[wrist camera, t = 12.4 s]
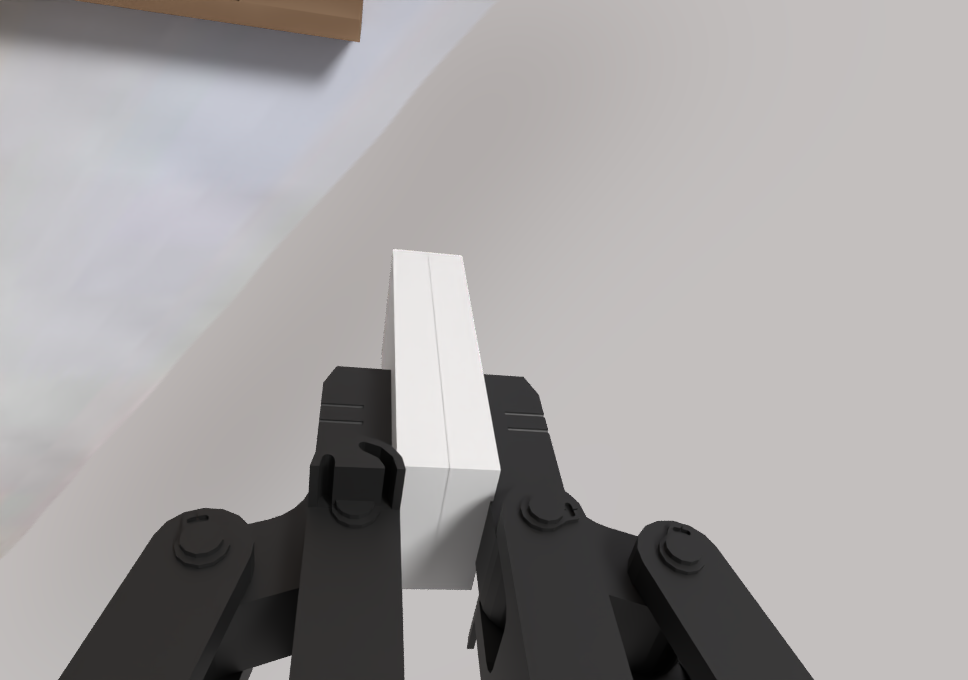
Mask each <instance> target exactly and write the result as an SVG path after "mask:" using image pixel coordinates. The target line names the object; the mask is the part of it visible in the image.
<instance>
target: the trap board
mask: <svg viewBox="0 0 968 680" xmlns="http://www.w3.org/2000/svg"><path fill="white" fill-rule="evenodd" d="M76 1H83V2H89V3H96V4H103V5H110V6H117V7H123V8H130V9H137V10H144V11H151V12H157V13H164V14H171V15H178V16H185V17H191V18H198V19H205V20H212V21H219V22H225V23H232V24H239V25H246V26H253V27H260V28H266V29H273V30H280V31H287V32H294V33H300V34H307V35H314V36H321V37H328V38H334V39H341V40H348V41H355V42H360V34H361V24H362V10H363V0H76Z"/></svg>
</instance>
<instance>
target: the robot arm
mask: <svg viewBox="0 0 968 680" xmlns="http://www.w3.org/2000/svg"><path fill="white" fill-rule="evenodd" d="M543 415H544V413H543V410H542V406H541V402H540V398H539V395H538V394H537V392H536V391H535V390H534V389H533V388H532V387H531V385H530V384H529V383H528V382H527V381H526V380H525V378H524V377H516V376H501V375H486V374H483V369H482V364H481V358H480V352H479V347H478V342H477V336H476V330H475V325H474V319H473V314H472V308H471V303H470V297H469V291H468V287H467V281H466V275H465V270H464V264H463V258H462V256H461V255H450V254H439V253H430V252H419V251H410V250H399V249H393V254H392V263H391V272H390V281H389V291H388V299H387V308H386V318H385V326H384V336H383V344H382V369H370V368H355V367H341V366H337V367H336V368H335V369H334V370H333V372H332V373H331V374H330V375H329V376H328V378H327V379H326V380H325V381H324V383H323V391H322V400H321V409H320V418H319V427H318V436H317V445H316V453H315V455H314V457H313V459H312V462H311V464H310V477H309V493H308V494H307V496H306V497H305V499H304V500H303V501H302V502H301V503H300V504H299V505H297V506H296V507H295V508H294V509H292V510H290V511H289V512H287V513H285V514H283V515H281V516H278V517H275V518H272V519H269V520H264V521H260V522H256V523H252V524H247V523H246V522H245V521H244V520H243V519H242V518H241V517H240V516H238V515H236V514H234V513H231V512H229V511H226V510H223V509H210V508H202V509H197V510H193V511H188V512H184V513H182V514H180V515H178V516H176V517H175V518H173V519H171V520H169V521H167V522H166V523H165V524H164V525H163V526H162V527H161V528H160V529H159V530H158V531H157V532H156V533H155V534H154V535H153V537H152V538H151V540H150V542H149V543H148V544H147V546H146V548H145V549H144V551H143V552H142V554H141V555H140V557H139V558H138V560H137V561H136V563H135V564H134V566H133V567H132V569H131V570H130V572H129V573H128V575H127V577H126V578H125V579H124V581H123V582H122V584H121V585H120V587H119V588H118V590H117V592H116V593H115V595H114V596H113V598H112V599H111V601H110V602H109V604H108V605H107V607H106V608H105V610H104V611H103V613H102V614H101V616H100V617H99V619H98V620H97V622H96V623H95V625H94V626H93V628H92V629H91V631H90V632H89V634H88V635H87V637H86V638H85V640H84V641H83V643H82V645H81V646H80V648H79V649H78V651H77V652H76V654H75V655H74V657H73V658H72V660H71V661H70V663H69V664H68V666H67V667H66V669H65V670H64V672H63V673H62V675H61V676H60V678H59V679H58V680H248V678H249V676H250V674H251V672H252V668H253V667H256V666H259V665H262V664H265V663H268V662H271V661H275V660H278V659H281V658H284V657H287V656H291V655H292V658H291V667H290V677H289V680H404V648H403V608H402V589H447V590H451V589H452V590H453V589H454V590H471V589H472V585H473V581H474V577H475V573H477V581H478V589H479V597H478V601H477V605H476V609H475V612H474V617H473V621H472V625H471V629H470V632H469V636H468V645H467V649H474V646H475V642H476V640H477V649H478V658H479V667H480V676H481V680H814V679H813V678H812V677H811V675H810V674H809V672H808V671H807V670H806V668H805V667H804V665H803V664H802V663H801V662H800V660H799V659H798V657H797V656H796V655H795V653H794V652H793V651H792V649H791V648H790V646H789V645H788V644H787V643H786V641H785V640H784V638H783V637H782V636H781V634H780V633H779V631H778V630H777V629H776V627H775V626H774V625H773V623H772V622H771V621H770V619H769V618H768V617H767V615H766V614H765V612H764V611H763V610H762V609H761V607H760V606H759V604H758V603H757V602H756V600H755V599H754V598H753V596H752V595H751V594H750V592H749V591H748V589H747V588H746V587H745V585H744V584H743V583H742V581H741V580H740V579H739V577H738V576H737V574H736V573H735V572H734V570H733V569H732V568H731V566H730V565H729V563H728V562H727V561H726V559H725V558H724V557H723V555H722V554H721V553H720V551H719V550H718V549H717V547H716V546H715V545H714V544H713V543H712V542H711V541H710V540H709V539H708V538H707V537H706V536H705V535H703V534H702V533H700V532H699V531H697V530H695V529H694V528H692V527H691V526H688V525H685V524H681V523H678V522H675V521H656V522H654V523H651V524H649V525H647V526H645V527H644V529H643V530H642V531H641V533H640V534H639V535H638V536H635V535H631V534H628V533H624V532H621V531H618V530H615V529H611V528H608V527H605V526H603V525H600V524H598V523H596V522H594V521H592V520H590V519H589V518H587V517H586V515H585V513H584V512H583V510H582V508H581V506H580V504H579V503H578V502H577V501H576V500H575V499H574V498H573V497H572V496H571V495H569V494H568V493H567V492H565V490H564V487H563V483H562V479H561V476H560V472H559V468H558V465H557V461H556V457H555V454H554V450H553V446H552V443H551V439H550V435H549V433H548V428H547V424H546V420H545V418H544V417H543Z"/></svg>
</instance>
